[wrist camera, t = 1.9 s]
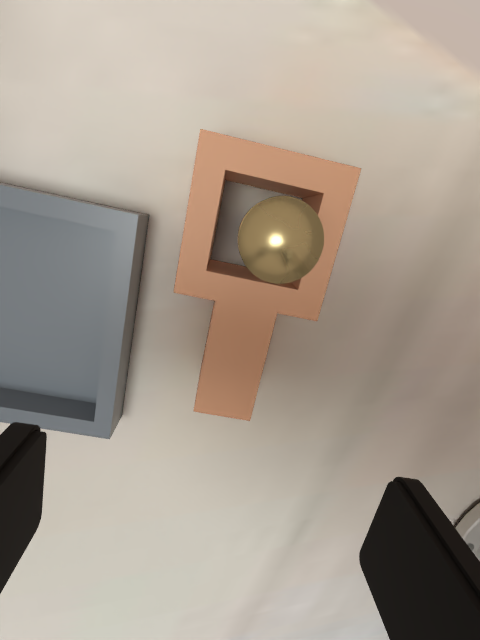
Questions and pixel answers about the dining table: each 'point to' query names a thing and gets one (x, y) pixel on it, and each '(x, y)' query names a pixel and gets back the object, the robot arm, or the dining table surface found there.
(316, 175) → the orange flat handled frame
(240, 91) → the dining table surface
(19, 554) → the robot arm
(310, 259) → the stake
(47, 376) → the tray
